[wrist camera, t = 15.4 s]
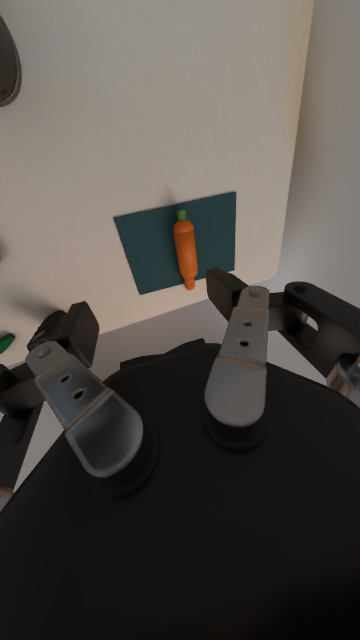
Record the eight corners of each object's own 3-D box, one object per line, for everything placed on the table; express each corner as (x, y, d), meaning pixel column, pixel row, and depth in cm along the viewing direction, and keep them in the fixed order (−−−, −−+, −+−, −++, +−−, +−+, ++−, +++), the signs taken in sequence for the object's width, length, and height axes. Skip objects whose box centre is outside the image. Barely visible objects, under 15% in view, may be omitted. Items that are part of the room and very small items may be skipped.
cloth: (113, 217, 32) (113, 218, 32) (235, 191, 35) (236, 191, 34) (139, 294, 42) (139, 295, 41) (233, 269, 44) (234, 270, 44)
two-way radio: (61, 306, 39) (32, 355, 27) (77, 319, 41) (57, 369, 30) (41, 319, 39) (4, 372, 27) (58, 331, 42) (31, 385, 30)
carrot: (167, 211, 33) (172, 212, 30) (187, 207, 34) (194, 208, 31) (181, 289, 43) (186, 296, 40) (196, 285, 44) (202, 292, 41)
